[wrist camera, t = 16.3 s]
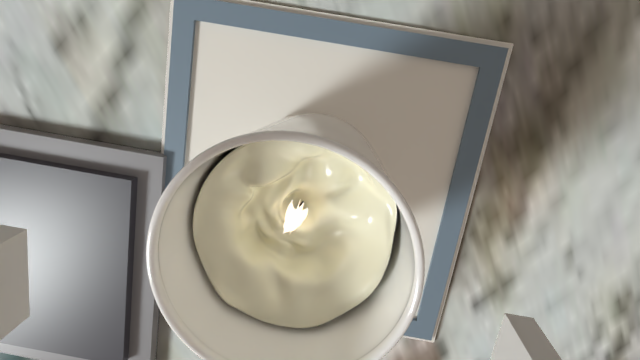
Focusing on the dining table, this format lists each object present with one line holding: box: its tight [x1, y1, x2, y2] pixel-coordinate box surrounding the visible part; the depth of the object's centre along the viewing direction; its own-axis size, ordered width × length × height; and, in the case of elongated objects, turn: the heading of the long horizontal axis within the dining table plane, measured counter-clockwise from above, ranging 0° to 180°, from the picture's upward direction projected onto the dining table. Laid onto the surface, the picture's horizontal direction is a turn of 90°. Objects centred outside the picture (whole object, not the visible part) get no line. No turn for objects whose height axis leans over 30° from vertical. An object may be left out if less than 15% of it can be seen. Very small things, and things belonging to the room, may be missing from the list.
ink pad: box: [0, 124, 167, 360], centre depth 29 cm, size 16×16×2 cm
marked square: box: [161, 0, 514, 343], centre depth 27 cm, size 19×19×1 cm
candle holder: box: [146, 113, 425, 360], centre depth 21 cm, size 10×10×12 cm
